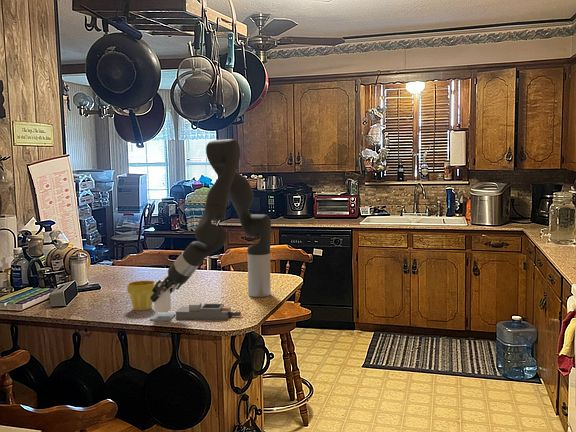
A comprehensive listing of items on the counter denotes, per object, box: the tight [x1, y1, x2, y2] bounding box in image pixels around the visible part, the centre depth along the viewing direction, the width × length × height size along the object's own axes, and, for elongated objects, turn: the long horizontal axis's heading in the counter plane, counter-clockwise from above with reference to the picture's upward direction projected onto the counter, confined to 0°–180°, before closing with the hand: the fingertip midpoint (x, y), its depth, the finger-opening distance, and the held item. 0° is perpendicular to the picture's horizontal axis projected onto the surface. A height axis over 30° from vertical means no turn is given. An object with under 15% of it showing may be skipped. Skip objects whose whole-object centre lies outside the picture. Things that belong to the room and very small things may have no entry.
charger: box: [153, 279, 172, 313], centre depth 199 cm, size 4×4×11 cm
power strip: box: [175, 301, 242, 320], centre depth 200 cm, size 7×22×4 cm, turn 85°
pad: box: [149, 313, 176, 322], centre depth 199 cm, size 7×7×1 cm
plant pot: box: [126, 280, 156, 311], centre depth 213 cm, size 10×10×10 cm
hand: (158, 298), depth 199 cm, fingers closed on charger, 5 cm apart
